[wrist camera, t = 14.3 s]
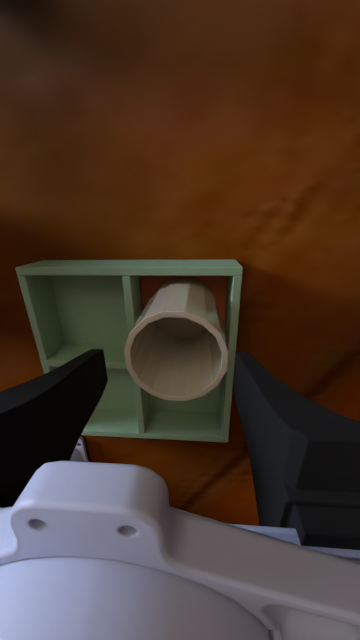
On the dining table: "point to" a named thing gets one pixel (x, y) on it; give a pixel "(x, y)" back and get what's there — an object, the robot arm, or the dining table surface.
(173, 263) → the green divided tray
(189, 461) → the dining table surface
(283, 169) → the dining table surface
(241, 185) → the dining table surface
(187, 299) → the paper cup
